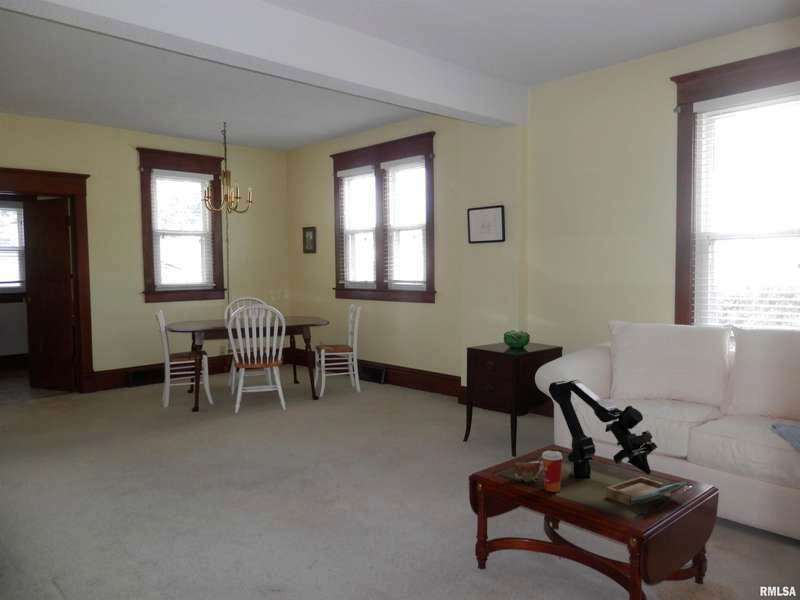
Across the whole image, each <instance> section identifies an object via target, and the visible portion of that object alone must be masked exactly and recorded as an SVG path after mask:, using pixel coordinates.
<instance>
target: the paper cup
mask: <svg viewBox="0 0 800 600" xmlns="http://www.w3.org/2000/svg"><path fill="white" fill-rule="evenodd" d="M541 458H542V461H543V470H542V472H543V473H542V474H543V485H544V490H545V489H548V490H552V491H558V490H560V491H561V480H562V460H563V455H562V453H561V452H560V451H554V450H545V451H543V452H542V454H541Z"/></svg>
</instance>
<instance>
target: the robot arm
mask: <svg viewBox="0 0 800 600" xmlns="http://www.w3.org/2000/svg"><path fill="white" fill-rule="evenodd" d="M548 393H549V394H550V396H551V397H552V399H553V401H555V402H556V403H557V404H558V405H559V408H560V410H561V412H562V416H563V418H564V420H565V422H566V426H567V428H568V430H569V434H570V435H571V439H572V440H571V450H572V451H570V452H569V454H568V455H567V460H568V462H571V471H570V472H569V473H570V475H571V476H572V477H573V478H574V479H591V471H592V470H591V464H590V461H592V460H593V458H594V456H595V454H596V445H595V443H594V441H593V437H591V436H589V437H588V436H587V435H586V434H585V433H584V430H583V428H582V424H581V423H580V421H579V417H578V415H577V413H576V410H575V407H574V406H573V403H572V393H574V395H576V396H577V397H578V398H580V400H582V401H583V402H584V403H585V404H587V406H589V407H590V409H592V410H593V412H594V413H593V414H594V415H595V416H596V417H597V418H598V420H599V421H600V422H602V423H605V424H606V423H609V422H611V423H609V424H606V425H605V433H609V432H610V433H612V434H613V436H614V438H615V439H616V441H617V442H616V445H617V446H620V447H621V448H622V449H621V450H619V451H618V452H617V453H616V454H615V455H613V457H612V458H613V459H612V460H613V462H614V463H615V464H616V465H618V464H622V462H623V460H624V459H626V458H627V459H628V460H627V461H626V463H627V464H630V465H631V466H634V467H635V468H638V469H639V471H642V472H643V473H645V474H646V475H650V474H651V472H652V471H651V468H650V465H649V462H648V455H650V454H651V453H652V452H654V451H655V450H656V449H657V448H658V446H657V444H656V443H655V442H653V441H652V439H653V435H652V434H651V432H650V430H645V431H642V432H641V434H640V435H637V434H636V433H634V432H633V433H632V432H631V431H630V430H632V429H634V428H635V427H637V425H638V424H640V423H641V422H643V419H644V416H643V414H642V412H641V411H639V410H638V409H636V408H634V407H633V406H632V405H628V406H626V407H625V409H623V410H621V409H619V408H618V407H617V406H616V405H614V404H612V403H611V402H609V401H605V400H603V399H601V398H600V397H599V396H598V395H596V394H595V393H594V392H593V391H592V390H590V389H589V388H588V387H587V386H586V385H584V384H583V383H582V381H581V380H578V379H574V380H573V379H572V380H570V381H566V380H559V381H555V382H554V381H553V382H551V383H549V386H548Z"/></svg>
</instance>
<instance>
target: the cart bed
mask: <svg viewBox="0 0 800 600" xmlns="http://www.w3.org/2000/svg"><path fill="white" fill-rule="evenodd" d="M664 486H665V484H664V483H663V482H660V481H656V480H654V479H650V478H648V477H647V478H646V477H644V476H641V475H640V476H638V477H635V478H632V479H628V480H626V481H622V482H619V483H615V484H612V485H609V486H607V487H606V488H605V489H606V496H605V497H606V498H609V499H611V500H614V501H616V502H620V503H623V504H625V505H628V506H631V505H634V504H637V503H640V502H642V501H646V500H648V499H651V498H654V497H656V496H658V495H655V496H652V497H647V498H643V499H638V500H634V501H632V500H631V498H632V497H635V496H638V495H641V494H644V493H647V492H650V491H653V490H655V489H658V488H661V487H664Z"/></svg>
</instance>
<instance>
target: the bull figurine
mask: <svg viewBox="0 0 800 600" xmlns="http://www.w3.org/2000/svg"><path fill="white" fill-rule="evenodd" d="M512 470H513V472H514V477H515V476H516V477H517V478H519V479H520V478H522V479H523V476H522V473H523V474H524V475H525V476H527V475H528V474H531V475H532V479H535V477H537V478H538V475H539V474H540V473H541V472H542V471H543V460H541V461H539V460H535V461H529V462H523V461H522V462H521V461H515V462H513V463H512ZM517 478H516V479H517ZM535 480H536V479H535Z"/></svg>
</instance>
